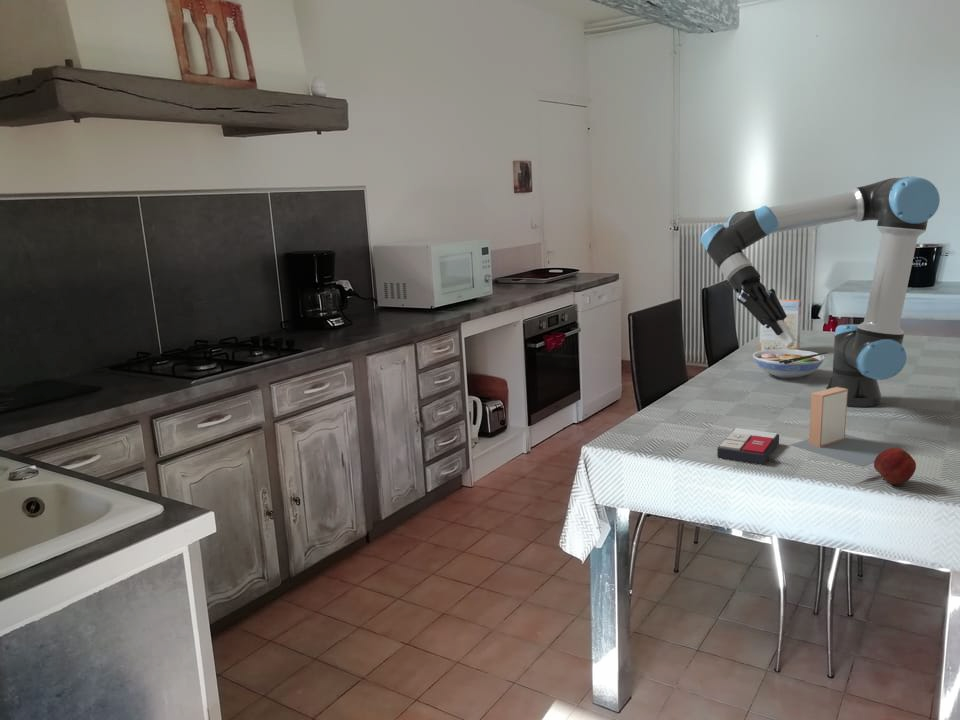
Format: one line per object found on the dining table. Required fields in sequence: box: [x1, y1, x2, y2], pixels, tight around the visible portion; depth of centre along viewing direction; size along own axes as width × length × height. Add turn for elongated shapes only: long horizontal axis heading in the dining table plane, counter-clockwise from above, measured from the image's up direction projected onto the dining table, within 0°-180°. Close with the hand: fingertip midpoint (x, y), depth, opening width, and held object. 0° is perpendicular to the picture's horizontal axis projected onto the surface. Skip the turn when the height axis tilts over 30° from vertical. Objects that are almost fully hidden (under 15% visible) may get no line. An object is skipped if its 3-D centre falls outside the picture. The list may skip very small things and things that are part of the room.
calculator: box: [716, 427, 780, 466], centre depth 184 cm, size 11×4×15 cm
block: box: [808, 387, 848, 447], centre depth 186 cm, size 10×3×13 cm, turn 121°
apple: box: [873, 447, 917, 486], centre depth 162 cm, size 7×8×8 cm
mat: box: [790, 433, 908, 467], centre depth 183 cm, size 18×19×1 cm
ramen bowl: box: [752, 349, 828, 380], centre depth 257 cm, size 25×23×8 cm
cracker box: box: [758, 298, 803, 351], centre depth 294 cm, size 14×6×21 cm, turn 58°
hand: (791, 343), depth 193 cm, fingers closed
